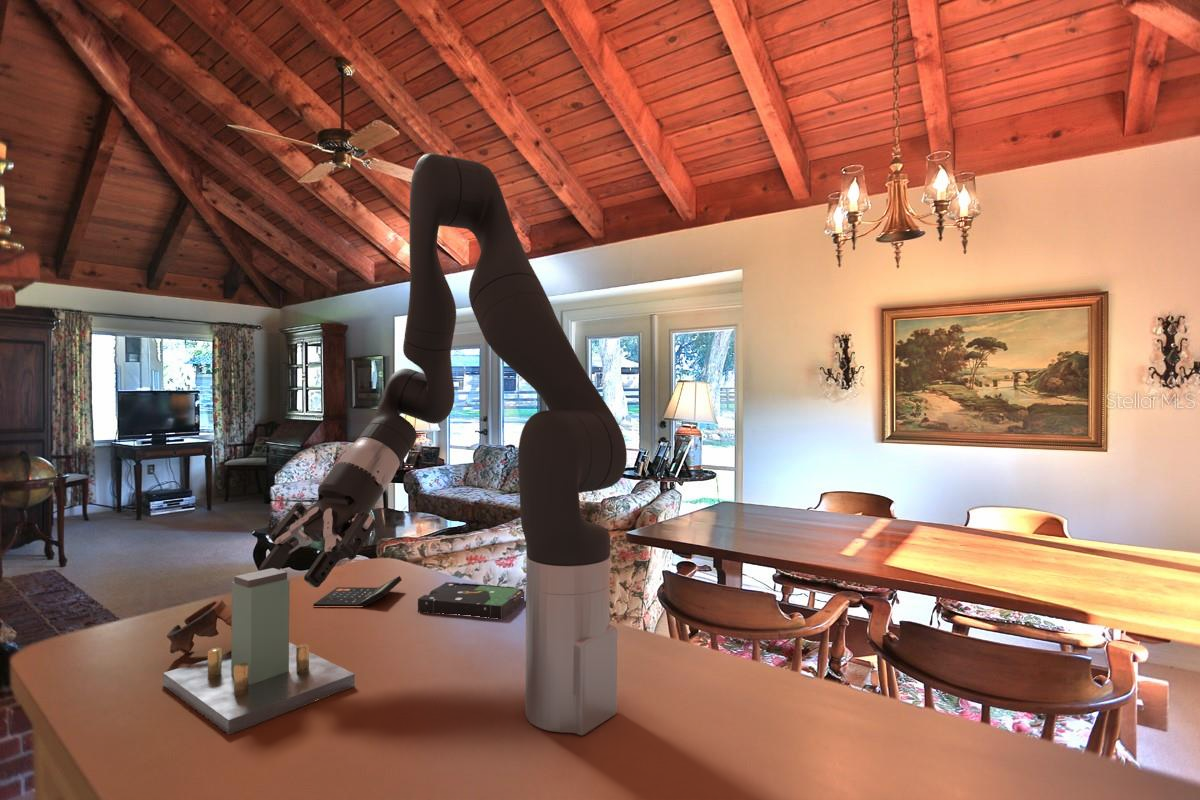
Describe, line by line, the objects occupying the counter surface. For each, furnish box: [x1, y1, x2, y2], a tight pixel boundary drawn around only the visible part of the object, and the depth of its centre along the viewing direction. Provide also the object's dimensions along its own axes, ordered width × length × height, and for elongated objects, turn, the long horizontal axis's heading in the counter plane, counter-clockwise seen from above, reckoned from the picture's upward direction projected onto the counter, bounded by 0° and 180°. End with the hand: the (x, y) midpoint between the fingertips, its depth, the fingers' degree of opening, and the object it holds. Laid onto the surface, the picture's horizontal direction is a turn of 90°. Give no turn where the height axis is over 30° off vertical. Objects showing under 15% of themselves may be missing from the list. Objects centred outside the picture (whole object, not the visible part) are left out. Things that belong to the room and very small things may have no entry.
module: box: [230, 568, 291, 685], centre depth 76 cm, size 4×5×12 cm
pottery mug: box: [166, 598, 232, 655], centre depth 86 cm, size 12×10×8 cm
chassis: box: [162, 641, 356, 736], centre depth 76 cm, size 18×14×4 cm
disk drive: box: [417, 581, 525, 620], centre depth 106 cm, size 10×3×15 cm
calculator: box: [312, 575, 403, 608], centre depth 109 cm, size 9×12×3 cm
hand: (286, 579), depth 79 cm, fingers open, 8 cm apart
